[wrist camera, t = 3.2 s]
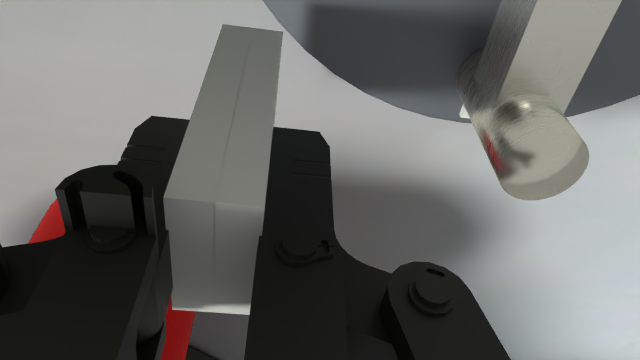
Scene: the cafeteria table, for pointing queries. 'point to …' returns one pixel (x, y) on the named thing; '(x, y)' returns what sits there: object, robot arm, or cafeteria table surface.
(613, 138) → the cafeteria table surface
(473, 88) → the pointer
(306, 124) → the cafeteria table surface
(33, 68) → the cafeteria table surface
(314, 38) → the dial plate
